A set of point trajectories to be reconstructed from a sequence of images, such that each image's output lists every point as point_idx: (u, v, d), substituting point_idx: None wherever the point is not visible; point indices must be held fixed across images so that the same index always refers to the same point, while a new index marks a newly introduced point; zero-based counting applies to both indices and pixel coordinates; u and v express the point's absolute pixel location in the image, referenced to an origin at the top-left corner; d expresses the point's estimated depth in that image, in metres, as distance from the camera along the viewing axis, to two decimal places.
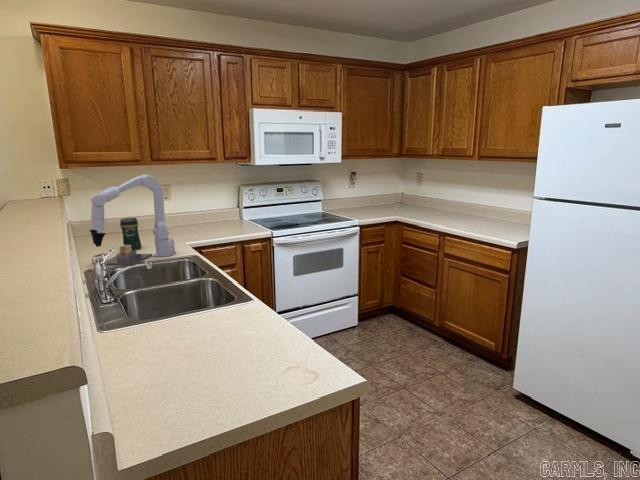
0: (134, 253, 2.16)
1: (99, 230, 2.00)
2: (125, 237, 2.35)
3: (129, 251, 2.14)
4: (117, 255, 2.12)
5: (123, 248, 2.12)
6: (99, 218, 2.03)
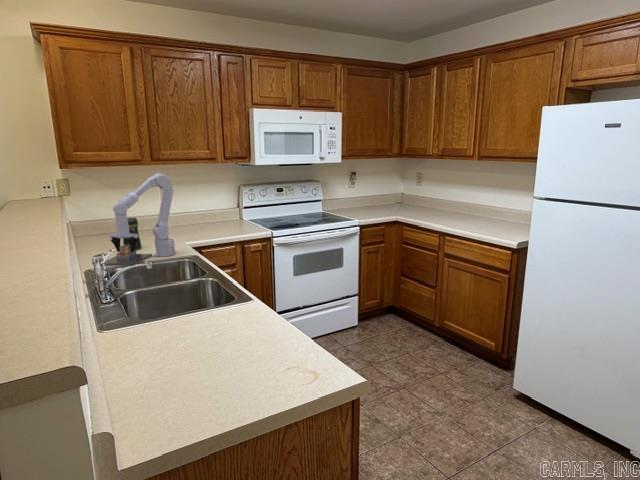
0: (134, 253, 2.16)
1: (136, 235, 2.12)
2: None
3: (129, 251, 2.14)
4: (117, 255, 2.12)
5: (123, 248, 2.12)
6: (124, 226, 2.10)
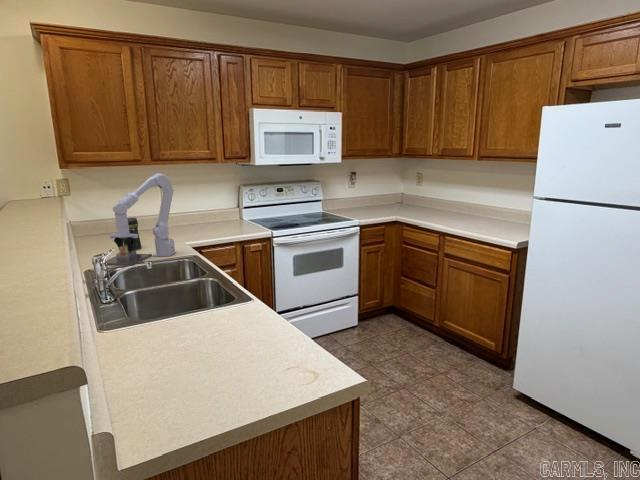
0: (134, 253, 2.16)
1: (136, 235, 2.12)
2: None
3: None
4: (117, 255, 2.12)
5: (123, 248, 2.12)
6: (124, 226, 2.10)
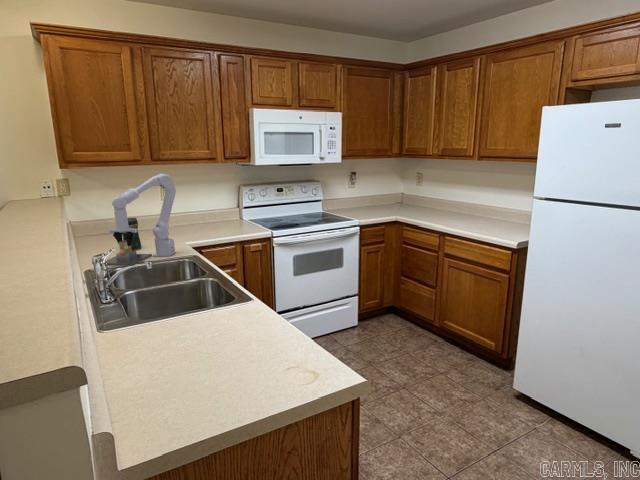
0: (134, 253, 2.16)
1: (136, 229, 2.11)
2: (125, 237, 2.35)
3: (128, 247, 2.14)
4: (117, 255, 2.12)
5: (122, 244, 2.12)
6: (123, 220, 2.09)
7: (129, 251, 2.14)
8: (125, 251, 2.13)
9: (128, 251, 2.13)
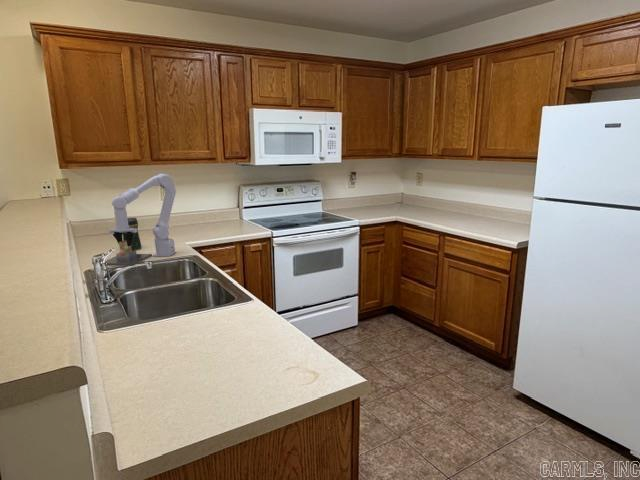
0: (134, 253, 2.16)
1: (136, 229, 2.11)
2: (125, 237, 2.35)
3: (128, 247, 2.14)
4: (117, 255, 2.12)
5: (122, 244, 2.12)
6: (123, 220, 2.09)
7: (129, 251, 2.14)
8: (125, 251, 2.13)
9: (128, 251, 2.13)
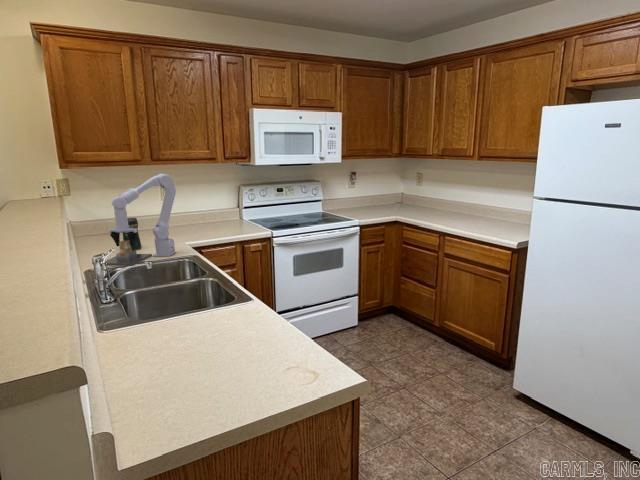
0: (134, 253, 2.16)
1: (136, 229, 2.11)
2: (125, 237, 2.35)
3: (128, 247, 2.14)
4: (117, 255, 2.12)
5: (122, 244, 2.12)
6: (123, 220, 2.09)
7: (129, 251, 2.14)
8: (125, 251, 2.13)
9: (128, 251, 2.13)
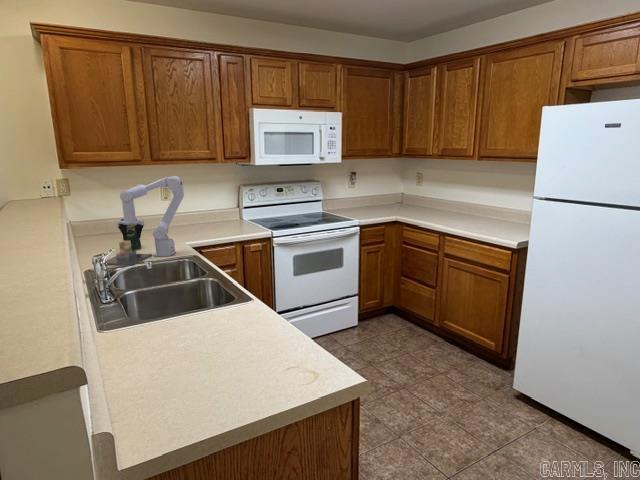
0: (134, 253, 2.16)
1: (143, 222, 2.18)
2: None
3: (128, 247, 2.14)
4: (117, 255, 2.12)
5: (122, 244, 2.12)
6: (128, 213, 2.16)
7: (129, 251, 2.14)
8: (125, 251, 2.13)
9: (128, 251, 2.13)
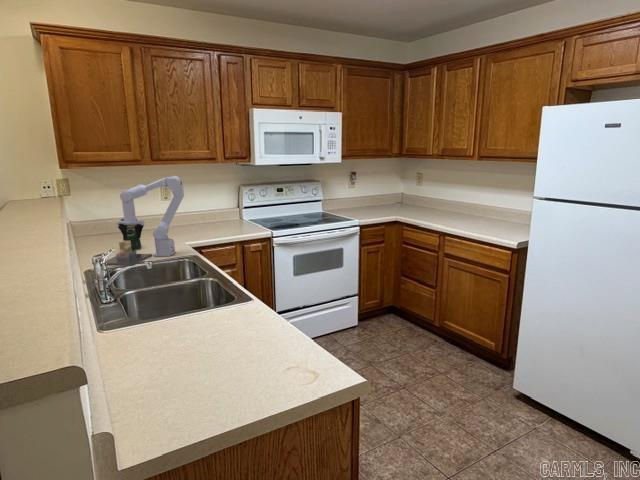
0: (134, 253, 2.16)
1: (143, 222, 2.18)
2: None
3: (128, 247, 2.14)
4: (117, 255, 2.12)
5: (122, 244, 2.12)
6: (128, 213, 2.16)
7: (129, 251, 2.14)
8: (125, 251, 2.13)
9: (128, 251, 2.13)
